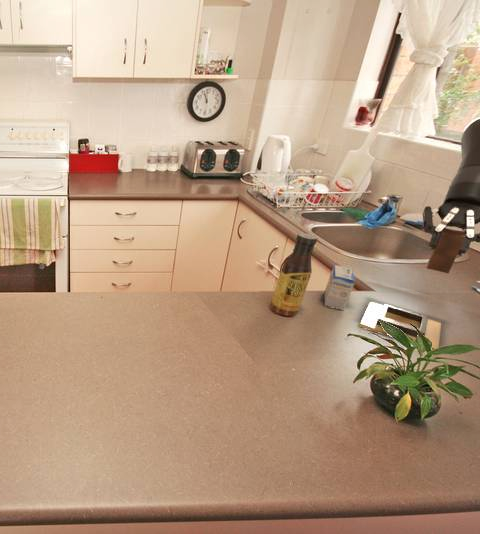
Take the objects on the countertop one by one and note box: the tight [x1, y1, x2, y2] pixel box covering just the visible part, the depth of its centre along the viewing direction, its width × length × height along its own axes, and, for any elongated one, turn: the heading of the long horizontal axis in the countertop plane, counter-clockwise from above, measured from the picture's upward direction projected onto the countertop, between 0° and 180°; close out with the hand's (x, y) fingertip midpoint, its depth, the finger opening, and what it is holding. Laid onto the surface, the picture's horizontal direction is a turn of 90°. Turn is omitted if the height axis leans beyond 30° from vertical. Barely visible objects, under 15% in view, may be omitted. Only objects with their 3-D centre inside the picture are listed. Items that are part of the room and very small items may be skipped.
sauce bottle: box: [270, 232, 318, 317], centre depth 91 cm, size 7×6×20 cm
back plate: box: [358, 301, 442, 350], centre depth 90 cm, size 14×14×2 cm
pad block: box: [426, 227, 466, 274], centre depth 90 cm, size 4×5×9 cm
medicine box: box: [323, 264, 356, 311], centre depth 98 cm, size 8×4×9 cm, turn 150°
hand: (446, 250), depth 89 cm, fingers closed on pad block, 4 cm apart
